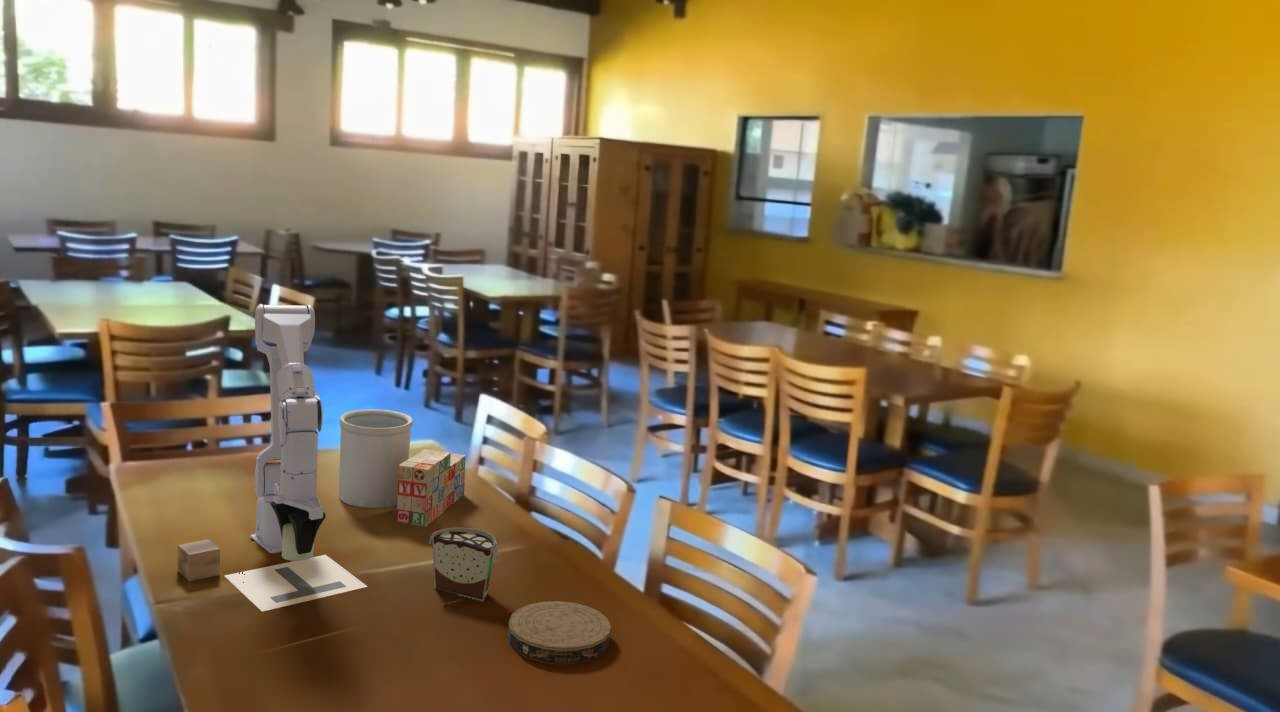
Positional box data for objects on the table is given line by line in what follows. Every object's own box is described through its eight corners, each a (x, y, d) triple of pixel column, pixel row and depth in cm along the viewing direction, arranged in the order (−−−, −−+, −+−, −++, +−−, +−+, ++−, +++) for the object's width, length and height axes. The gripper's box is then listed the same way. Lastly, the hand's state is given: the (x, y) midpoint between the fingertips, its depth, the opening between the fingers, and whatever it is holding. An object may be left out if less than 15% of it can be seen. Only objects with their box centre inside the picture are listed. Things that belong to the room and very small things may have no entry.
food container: (507, 590, 172) (511, 535, 170) (491, 603, 166) (494, 547, 164) (445, 575, 175) (448, 521, 174) (426, 587, 170) (429, 532, 168)
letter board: (223, 576, 167) (224, 575, 167) (325, 555, 179) (325, 554, 179) (262, 612, 155) (262, 611, 155) (367, 587, 168) (367, 586, 168)
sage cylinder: (279, 551, 167) (279, 523, 166) (309, 548, 170) (310, 520, 169) (285, 562, 163) (286, 533, 162) (316, 558, 166) (317, 530, 165)
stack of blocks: (437, 491, 219) (440, 437, 216) (464, 495, 218) (467, 441, 215) (395, 523, 198) (398, 464, 196) (425, 528, 197) (427, 468, 195)
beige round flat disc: (546, 609, 166) (547, 592, 166) (627, 638, 159) (629, 620, 158) (486, 644, 153) (487, 625, 152) (572, 677, 145) (574, 658, 144)
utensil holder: (423, 498, 214) (427, 419, 210) (370, 514, 201) (374, 431, 198) (375, 481, 221) (378, 405, 218) (321, 497, 209) (324, 416, 205)
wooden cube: (177, 573, 167) (177, 545, 166) (208, 566, 171) (208, 539, 170) (189, 583, 164) (189, 554, 163) (219, 576, 167) (219, 548, 166)
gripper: (257, 460, 166) (255, 537, 169) (294, 485, 156) (292, 566, 158) (298, 455, 171) (296, 530, 173) (336, 478, 161) (333, 558, 163)
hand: (296, 547), depth 166 cm, fingers closed on sage cylinder, 5 cm apart
